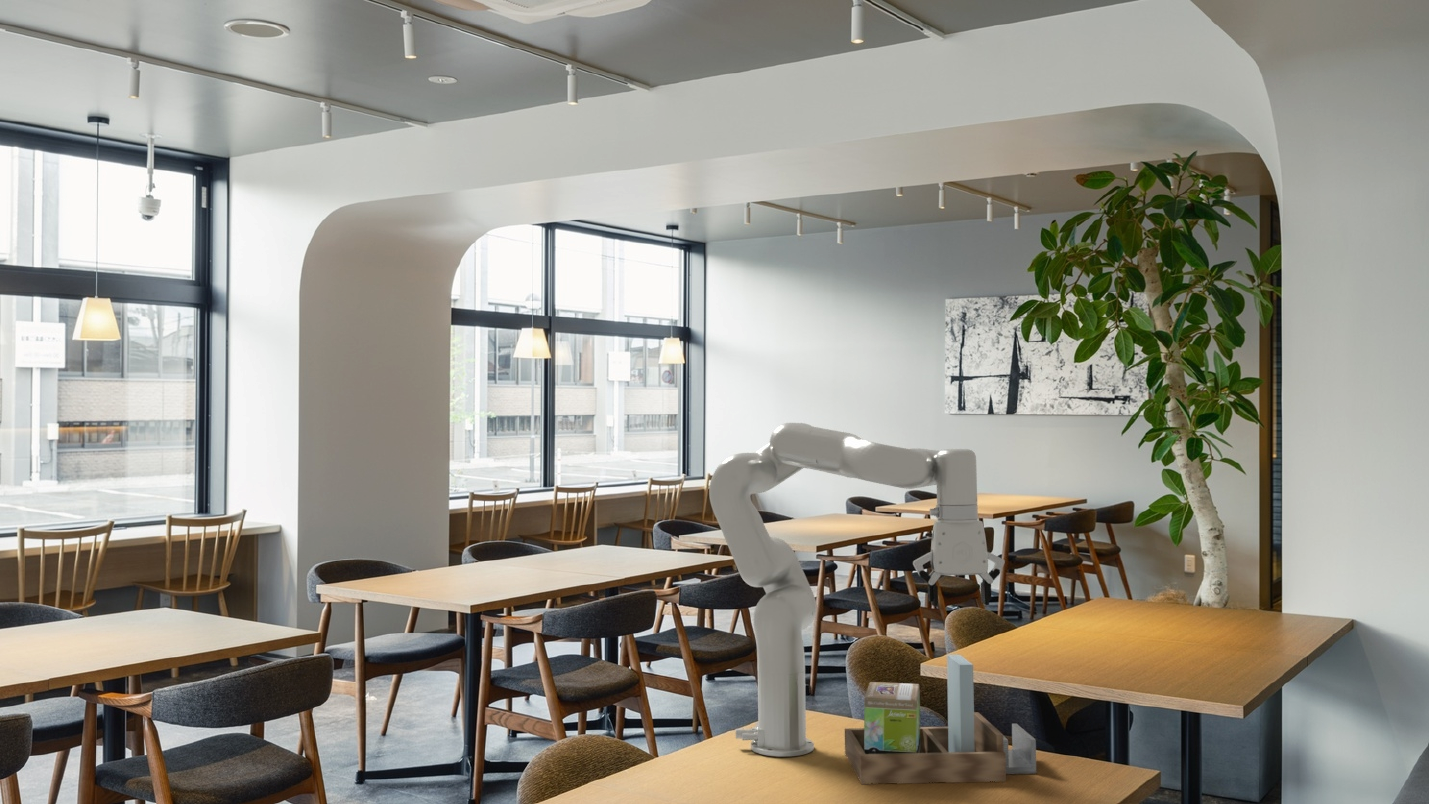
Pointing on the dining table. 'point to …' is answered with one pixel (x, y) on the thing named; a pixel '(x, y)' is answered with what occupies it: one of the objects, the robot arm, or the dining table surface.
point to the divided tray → (932, 758)
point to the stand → (1020, 752)
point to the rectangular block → (960, 704)
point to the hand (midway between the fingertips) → (959, 604)
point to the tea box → (892, 718)
